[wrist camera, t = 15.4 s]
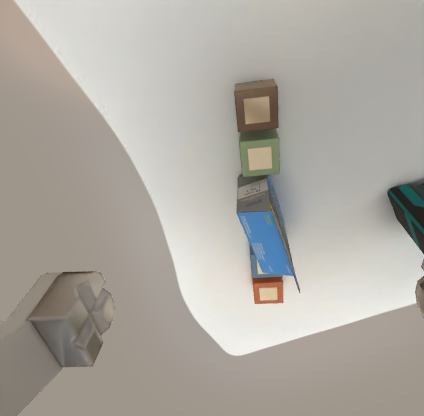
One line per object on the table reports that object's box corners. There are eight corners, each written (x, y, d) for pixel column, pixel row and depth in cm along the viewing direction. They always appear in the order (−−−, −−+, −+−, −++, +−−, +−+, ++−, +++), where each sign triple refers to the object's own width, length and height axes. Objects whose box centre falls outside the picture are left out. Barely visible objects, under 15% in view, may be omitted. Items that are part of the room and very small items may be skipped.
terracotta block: (251, 263, 45) (252, 284, 42) (279, 262, 45) (282, 283, 41) (253, 283, 47) (254, 304, 44) (280, 282, 47) (283, 303, 43)
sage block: (239, 130, 35) (239, 142, 32) (275, 126, 35) (279, 138, 31) (242, 162, 37) (242, 177, 34) (276, 159, 37) (279, 174, 33)
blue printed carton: (235, 175, 38) (233, 235, 28) (266, 165, 37) (276, 224, 27) (257, 231, 42) (263, 301, 32) (286, 223, 41) (301, 293, 31)
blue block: (249, 236, 43) (250, 255, 39) (278, 234, 42) (282, 254, 39) (251, 258, 45) (252, 278, 41) (279, 256, 44) (282, 277, 41)
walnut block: (234, 83, 33) (234, 91, 29) (273, 78, 32) (277, 86, 29) (238, 121, 35) (238, 133, 31) (274, 117, 34) (278, 128, 31)
